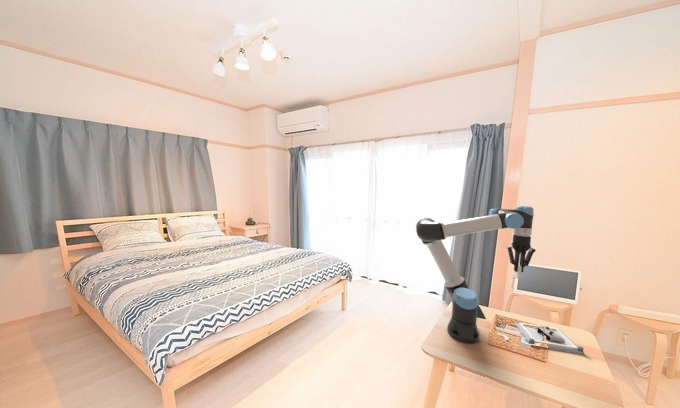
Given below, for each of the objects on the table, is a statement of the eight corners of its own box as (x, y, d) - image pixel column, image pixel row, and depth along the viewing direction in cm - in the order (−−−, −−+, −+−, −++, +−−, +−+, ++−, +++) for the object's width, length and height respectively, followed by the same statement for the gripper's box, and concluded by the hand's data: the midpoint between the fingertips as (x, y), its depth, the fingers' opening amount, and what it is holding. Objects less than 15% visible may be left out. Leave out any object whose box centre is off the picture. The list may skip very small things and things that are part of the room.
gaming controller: (567, 342, 116) (558, 332, 116) (557, 350, 117) (548, 340, 117) (549, 328, 128) (540, 319, 127) (539, 335, 128) (531, 326, 128)
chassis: (530, 345, 117) (530, 340, 117) (513, 324, 135) (514, 319, 134) (584, 354, 112) (584, 349, 111) (559, 331, 129) (560, 326, 129)
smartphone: (473, 316, 141) (467, 303, 156) (473, 317, 142) (467, 304, 156) (486, 318, 139) (479, 305, 154) (486, 319, 140) (479, 306, 154)
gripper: (511, 235, 122) (506, 278, 125) (540, 237, 119) (535, 281, 121) (505, 232, 129) (501, 273, 132) (532, 234, 126) (528, 276, 128)
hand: (517, 277), depth 127 cm, fingers closed
